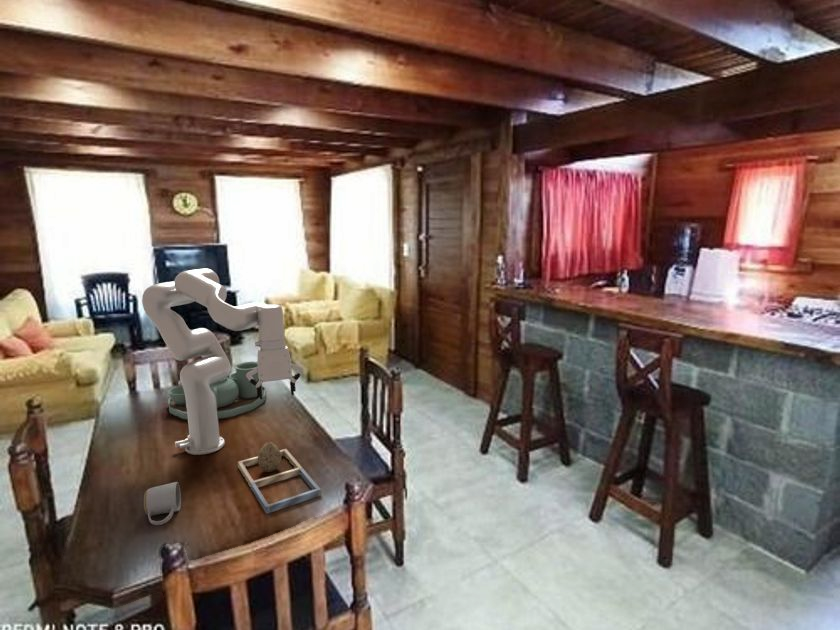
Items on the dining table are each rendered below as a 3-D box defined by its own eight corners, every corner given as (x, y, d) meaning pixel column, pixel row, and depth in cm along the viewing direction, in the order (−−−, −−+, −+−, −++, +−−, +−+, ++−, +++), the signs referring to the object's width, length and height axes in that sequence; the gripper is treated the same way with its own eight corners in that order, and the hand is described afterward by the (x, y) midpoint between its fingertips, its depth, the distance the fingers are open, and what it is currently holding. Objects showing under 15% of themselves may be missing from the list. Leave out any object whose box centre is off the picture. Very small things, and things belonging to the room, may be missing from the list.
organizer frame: (266, 514, 132) (265, 507, 131) (238, 467, 156) (237, 461, 155) (321, 495, 140) (320, 489, 140) (286, 454, 165) (286, 448, 164)
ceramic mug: (149, 506, 135) (146, 481, 133) (181, 500, 137) (179, 476, 136) (142, 529, 125) (139, 503, 123) (177, 523, 128) (174, 497, 126)
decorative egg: (269, 463, 158) (267, 435, 156) (286, 467, 156) (285, 439, 154) (253, 474, 152) (251, 444, 150) (272, 478, 149) (270, 449, 147)
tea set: (244, 381, 237) (241, 349, 234) (282, 404, 209) (280, 368, 205) (156, 401, 211) (152, 365, 208) (185, 431, 182) (181, 390, 179)
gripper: (243, 349, 144) (248, 403, 147) (302, 343, 149) (305, 396, 153) (243, 344, 151) (248, 395, 154) (299, 338, 156) (303, 388, 160)
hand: (276, 395), depth 153 cm, fingers open, 9 cm apart
